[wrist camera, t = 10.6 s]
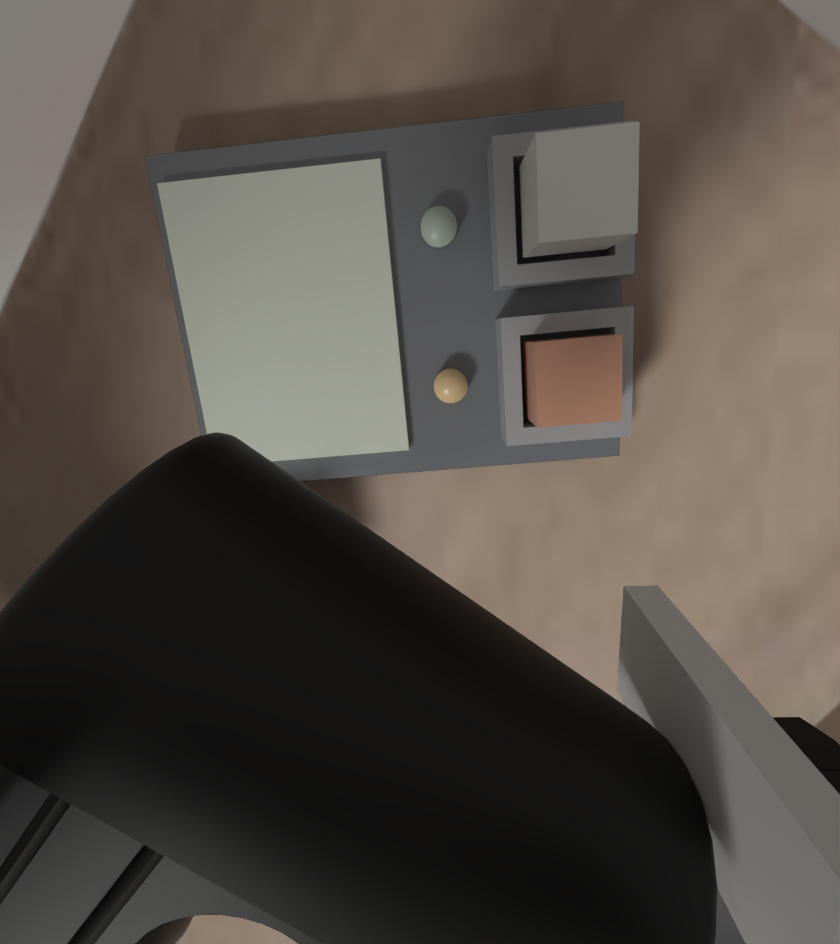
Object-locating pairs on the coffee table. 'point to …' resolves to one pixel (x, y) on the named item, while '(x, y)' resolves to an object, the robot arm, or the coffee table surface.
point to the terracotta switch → (572, 380)
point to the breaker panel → (381, 296)
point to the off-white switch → (580, 189)
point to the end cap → (314, 741)
